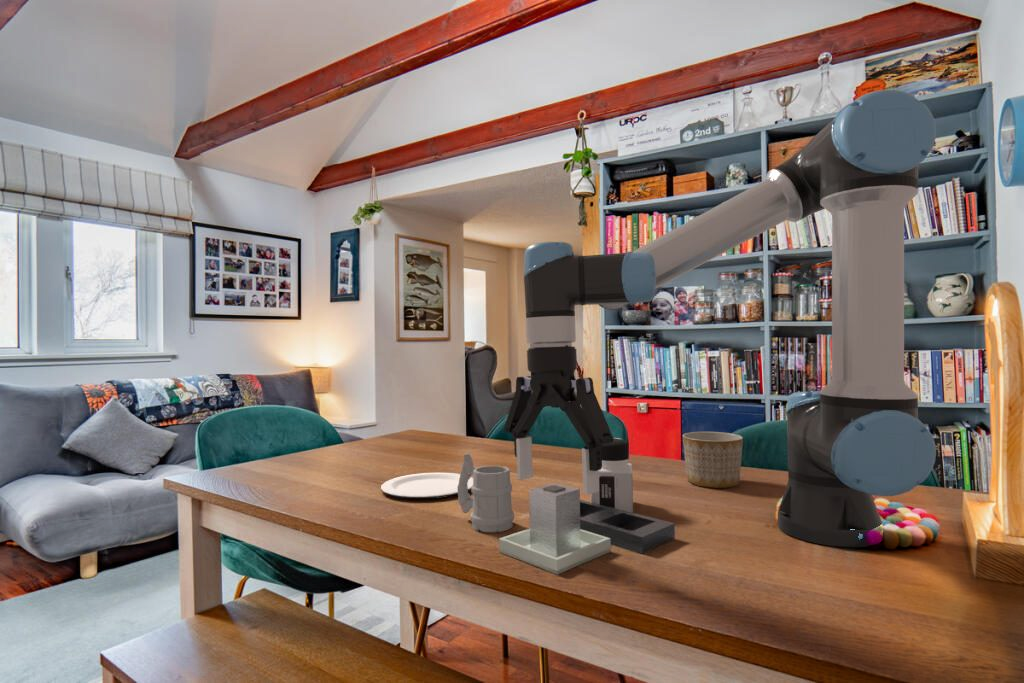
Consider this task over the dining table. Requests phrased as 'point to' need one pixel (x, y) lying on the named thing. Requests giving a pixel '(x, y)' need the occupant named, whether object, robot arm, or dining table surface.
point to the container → (615, 477)
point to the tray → (521, 550)
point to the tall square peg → (554, 519)
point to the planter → (713, 458)
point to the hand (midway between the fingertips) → (556, 485)
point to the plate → (424, 485)
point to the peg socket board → (612, 520)
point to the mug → (486, 496)
